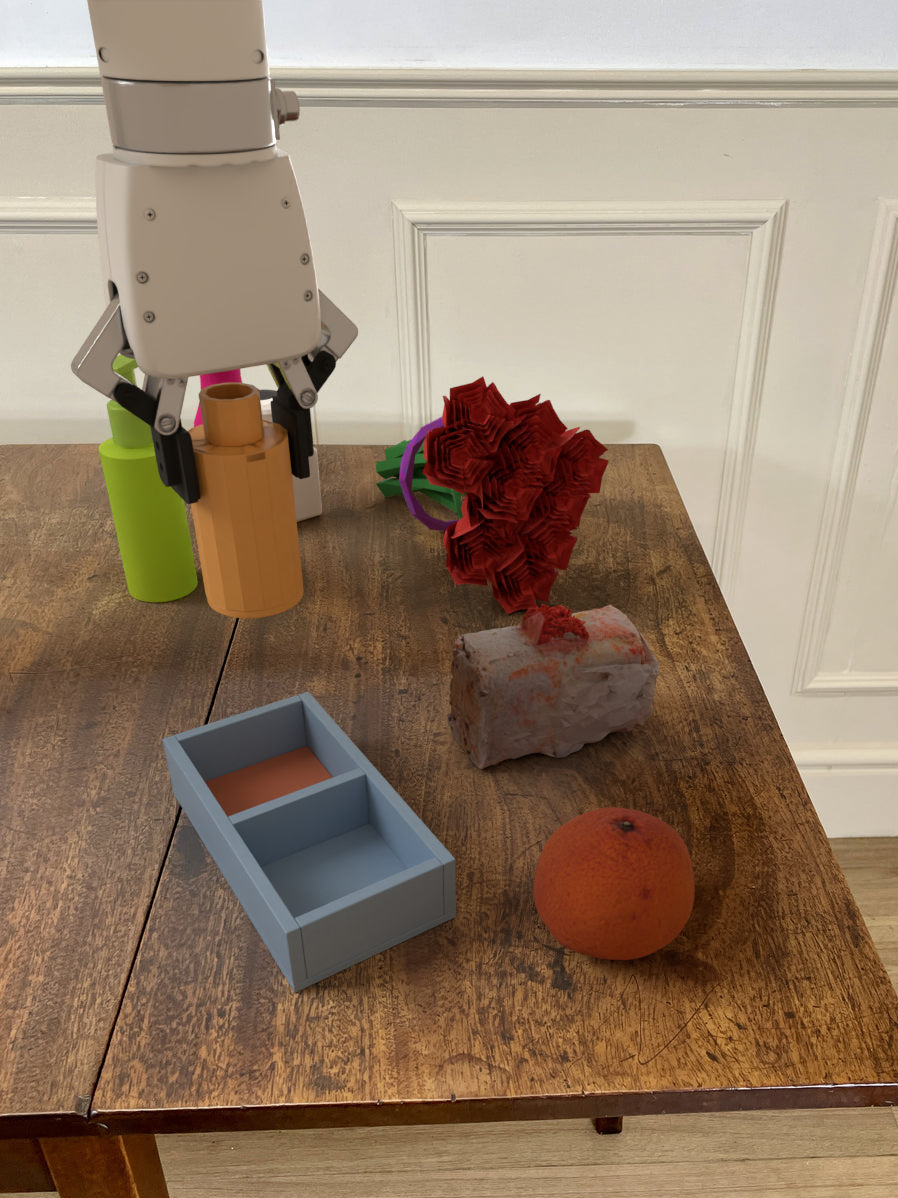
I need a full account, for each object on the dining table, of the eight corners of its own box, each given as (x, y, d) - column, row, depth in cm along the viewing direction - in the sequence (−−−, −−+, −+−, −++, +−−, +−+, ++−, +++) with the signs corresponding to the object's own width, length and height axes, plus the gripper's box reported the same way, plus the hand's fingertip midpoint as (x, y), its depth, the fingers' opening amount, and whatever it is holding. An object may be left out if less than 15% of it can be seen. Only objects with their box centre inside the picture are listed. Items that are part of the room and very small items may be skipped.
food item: (605, 683, 81) (615, 570, 75) (658, 740, 75) (674, 622, 69) (441, 723, 76) (438, 606, 70) (484, 788, 70) (485, 665, 64)
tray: (294, 993, 55) (286, 933, 53) (173, 794, 69) (161, 738, 66) (456, 917, 60) (455, 858, 58) (314, 744, 73) (308, 690, 71)
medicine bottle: (225, 509, 105) (209, 393, 98) (288, 492, 109) (276, 379, 102) (260, 534, 101) (245, 414, 94) (323, 515, 105) (313, 398, 98)
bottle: (228, 628, 60) (196, 416, 53) (193, 587, 63) (159, 385, 56) (319, 602, 62) (300, 397, 55) (280, 564, 66) (257, 369, 59)
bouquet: (465, 529, 117) (623, 589, 92) (328, 561, 110) (460, 636, 85) (445, 347, 109) (612, 360, 85) (296, 368, 102) (432, 390, 78)
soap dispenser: (218, 574, 94) (184, 351, 83) (167, 608, 89) (123, 375, 77) (167, 560, 96) (126, 341, 84) (114, 593, 90) (63, 364, 79)
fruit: (670, 870, 64) (685, 768, 59) (698, 986, 56) (718, 880, 52) (526, 872, 63) (530, 770, 59) (535, 990, 56) (541, 883, 51)
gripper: (325, 107, 55) (347, 433, 65) (-21, 121, 47) (66, 491, 57) (393, 122, 50) (406, 474, 60) (18, 141, 42) (106, 544, 52)
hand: (240, 479), depth 59 cm, fingers closed on bottle, 5 cm apart
